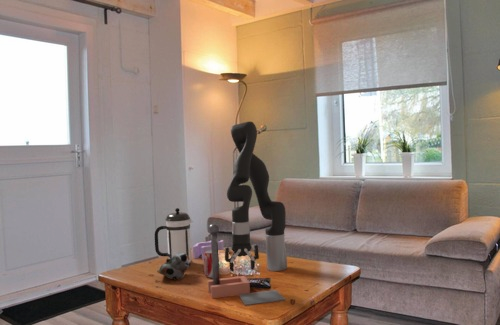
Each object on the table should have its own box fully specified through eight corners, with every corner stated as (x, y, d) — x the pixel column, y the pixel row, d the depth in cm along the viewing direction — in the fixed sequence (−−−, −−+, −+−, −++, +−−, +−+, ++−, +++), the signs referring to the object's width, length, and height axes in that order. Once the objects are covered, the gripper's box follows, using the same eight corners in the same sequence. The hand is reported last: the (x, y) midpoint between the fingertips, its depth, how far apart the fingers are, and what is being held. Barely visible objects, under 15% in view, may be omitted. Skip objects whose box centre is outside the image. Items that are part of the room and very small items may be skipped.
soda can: (217, 278, 202) (216, 253, 202) (202, 278, 204) (201, 253, 203) (221, 274, 209) (220, 249, 209) (207, 273, 211) (206, 249, 210)
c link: (244, 286, 190) (244, 275, 190) (250, 293, 180) (249, 282, 180) (208, 290, 186) (207, 280, 186) (211, 298, 176) (211, 287, 176)
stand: (221, 291, 185) (217, 222, 183) (223, 294, 180) (219, 224, 179) (210, 292, 183) (207, 223, 182) (212, 295, 179) (209, 225, 178)
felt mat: (275, 290, 182) (275, 289, 182) (285, 300, 170) (284, 299, 170) (238, 295, 178) (238, 294, 178) (245, 305, 166) (245, 304, 166)
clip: (212, 250, 260) (211, 238, 260) (229, 252, 253) (228, 240, 253) (189, 258, 244) (188, 245, 243) (206, 260, 237) (205, 248, 236)
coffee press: (181, 258, 242) (178, 205, 241) (200, 263, 231) (197, 207, 230) (155, 266, 230) (152, 209, 229) (173, 271, 219) (170, 211, 218)
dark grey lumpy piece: (164, 273, 215) (176, 247, 217) (185, 283, 212) (197, 257, 214) (152, 273, 201) (165, 245, 203) (174, 284, 198) (187, 255, 200)
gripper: (255, 229, 189) (256, 266, 190) (222, 231, 186) (224, 269, 186) (259, 232, 182) (260, 270, 182) (225, 235, 179) (227, 274, 179)
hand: (242, 270), depth 184 cm, fingers open, 8 cm apart
